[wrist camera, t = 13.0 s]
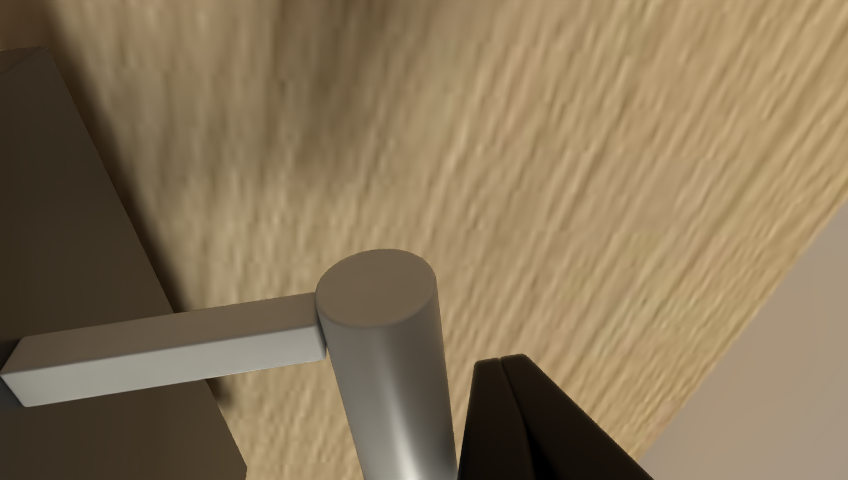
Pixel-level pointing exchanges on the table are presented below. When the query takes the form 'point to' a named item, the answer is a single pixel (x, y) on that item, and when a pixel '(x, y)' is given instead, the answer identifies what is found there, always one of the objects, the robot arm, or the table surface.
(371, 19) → the table surface
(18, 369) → the pull-out drawer
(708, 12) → the table surface
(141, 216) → the table surface
